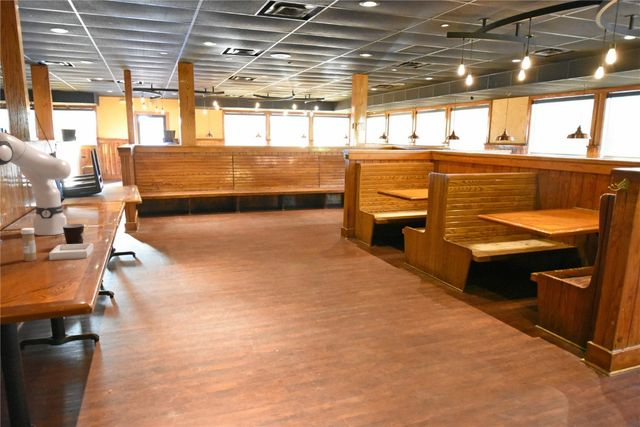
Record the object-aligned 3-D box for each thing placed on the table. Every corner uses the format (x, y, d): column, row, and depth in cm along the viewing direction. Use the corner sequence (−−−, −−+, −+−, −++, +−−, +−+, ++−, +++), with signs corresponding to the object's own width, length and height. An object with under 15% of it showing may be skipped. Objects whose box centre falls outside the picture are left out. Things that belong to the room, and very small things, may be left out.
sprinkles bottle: (21, 260, 178) (18, 228, 175) (32, 257, 182) (29, 226, 179) (28, 262, 176) (25, 230, 173) (39, 259, 180) (36, 228, 178)
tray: (58, 251, 192) (58, 244, 192) (93, 249, 197) (93, 243, 196) (49, 260, 179) (49, 253, 179) (87, 258, 183) (86, 251, 183)
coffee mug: (76, 249, 196) (74, 228, 194) (59, 248, 198) (58, 226, 196) (94, 243, 207) (92, 223, 205) (78, 242, 209) (77, 221, 207)
